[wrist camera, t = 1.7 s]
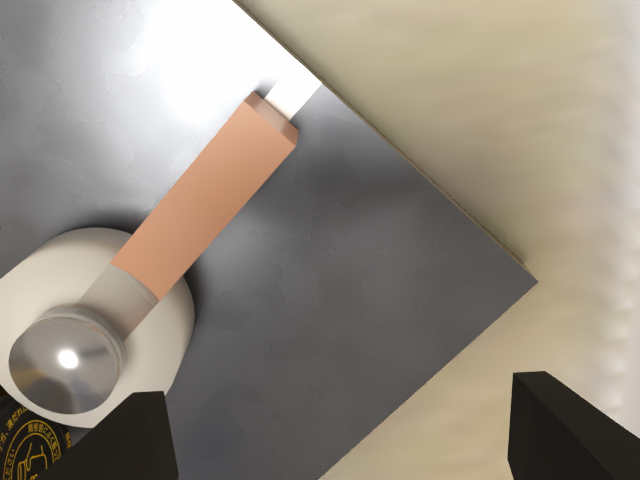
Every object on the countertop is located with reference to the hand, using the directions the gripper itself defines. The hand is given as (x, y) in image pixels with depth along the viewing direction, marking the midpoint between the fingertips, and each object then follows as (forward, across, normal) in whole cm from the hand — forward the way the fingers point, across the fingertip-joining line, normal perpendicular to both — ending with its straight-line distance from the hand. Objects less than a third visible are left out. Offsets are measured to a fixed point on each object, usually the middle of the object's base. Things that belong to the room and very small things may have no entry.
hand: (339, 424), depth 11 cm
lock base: (+10, +8, +1) cm, 13 cm away
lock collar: (+9, +6, -1) cm, 10 cm away
